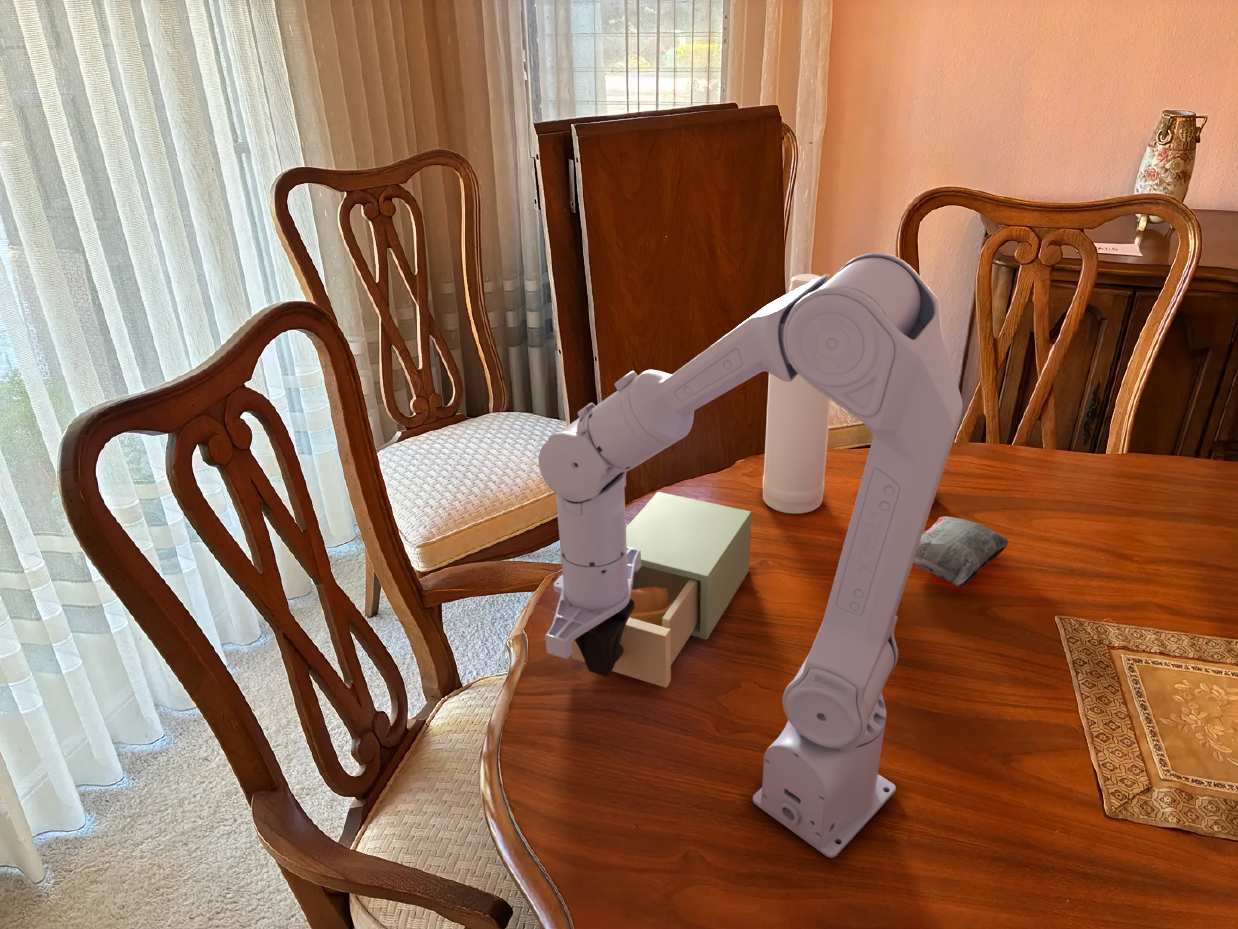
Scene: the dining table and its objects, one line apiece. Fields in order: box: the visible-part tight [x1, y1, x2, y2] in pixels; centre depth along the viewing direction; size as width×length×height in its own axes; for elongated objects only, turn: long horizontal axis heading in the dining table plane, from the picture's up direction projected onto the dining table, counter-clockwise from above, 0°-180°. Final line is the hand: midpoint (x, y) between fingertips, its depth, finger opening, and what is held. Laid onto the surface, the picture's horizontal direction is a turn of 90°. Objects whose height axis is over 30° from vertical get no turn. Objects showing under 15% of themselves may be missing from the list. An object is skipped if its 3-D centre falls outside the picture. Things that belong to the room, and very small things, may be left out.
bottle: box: [762, 273, 832, 515], centre depth 107 cm, size 8×8×30 cm
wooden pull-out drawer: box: [571, 566, 701, 689], centre depth 87 cm, size 14×10×6 cm
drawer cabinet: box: [626, 491, 752, 640], centre depth 95 cm, size 14×12×8 cm
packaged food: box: [912, 516, 1009, 588], centre depth 98 cm, size 9×12×5 cm
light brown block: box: [629, 587, 672, 627], centre depth 87 cm, size 6×4×5 cm, turn 98°
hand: (600, 669), depth 80 cm, fingers closed
